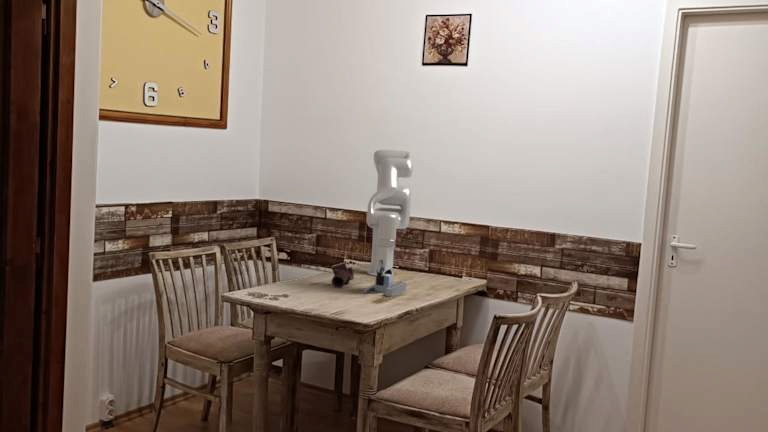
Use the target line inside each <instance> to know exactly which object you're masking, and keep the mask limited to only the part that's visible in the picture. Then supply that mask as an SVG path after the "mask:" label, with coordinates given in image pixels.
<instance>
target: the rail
mask: <svg viewBox="0 0 768 432" xmlns="http://www.w3.org/2000/svg"><path fill="white" fill-rule="evenodd" d="M406 290H407V282H405V281H399V282H396V283H394V284H393V285H392V286H390V287H388V288H386V290H385V294H384V296H385V297H391V298H392V297H394V296H396V295H398V294H401V293H402V292H404V291H406ZM374 291H375V284H373V285H371V286H368V287H365V288H363V294H369V293H371V292H374Z"/></svg>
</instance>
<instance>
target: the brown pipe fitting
mask: <svg viewBox="0 0 768 432" xmlns="http://www.w3.org/2000/svg"><path fill="white" fill-rule="evenodd" d="M331 270H332V273H333V277H332V279H331V284H332V286H333V287H334V288H338V289H341V288H343V287H344V286H345V285H347V284H349V283H350V281H353V280H354V279H355V273H354V270H353V267H352V266H349V267H348V266H347V265H346V262H345V261H344V262H342V263H338V264H337V263H336V264H334V265H331Z"/></svg>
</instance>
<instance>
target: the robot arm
mask: <svg viewBox="0 0 768 432" xmlns="http://www.w3.org/2000/svg"><path fill="white" fill-rule="evenodd" d="M373 163H374V167H375V169H376V172H377V185H376V191H375V193H374V194H372V196H371V197H370V199H369V201H368V203H367V210H366V211H367V212H366V213H367V214H366V223H367V226H368V227H369V228H370V229H371V228H372V243H371V244H372V246H371V247H372V249H371V258H370V261H371V263H369V264H368V263H363V264H362V268H363V269H368V270H367V272H366V273H367V274H368V275H370V276H375V280H376V285H381V286H383V285H384V276H383V275H384V274H390V275H393V276H394V275H395V272H394V271H393V267H394V256H395V255H394V254H395V253H394V251H395V250H394V248H396V241H397V239H396V238H397V229H399V230H405V229H407V228H408V227H409V224H410V218H411V217H410V215H411V201H412V197H411V196H412V193H411V189H410V188H409V187H408V186H406V185H399V178H403V179H405V178H407V179H408V178H411V177H412V175H413V171H414V169H413V168H414V164H413V163H414V162H413V156H412V153H411V152H409V151H405V150H394V149H378V150H376V151H374V153H373ZM376 204H378V205H382V206H389V207H377V208H375V205H376ZM390 206H392V207H390ZM394 207H399V208H394ZM376 275H377V278H376Z"/></svg>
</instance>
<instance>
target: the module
mask: <svg viewBox="0 0 768 432" xmlns="http://www.w3.org/2000/svg"><path fill="white" fill-rule="evenodd" d="M383 276H384V285H383V286H381V285H376V278H377V275H376V276H375V283H374V285H375V290H374V292H376V291H378V293H384V292H385V290H386V288H388V287H390V286H392V285H394V284H393V283H394V275H390V274H384V275H383Z"/></svg>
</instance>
